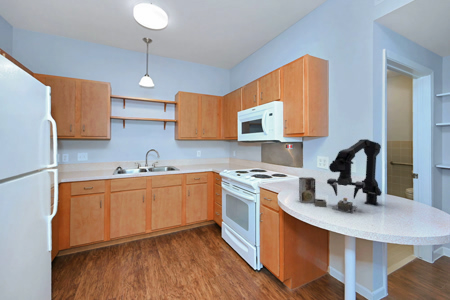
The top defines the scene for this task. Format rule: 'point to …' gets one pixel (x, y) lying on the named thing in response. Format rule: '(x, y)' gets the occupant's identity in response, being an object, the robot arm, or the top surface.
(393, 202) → the top surface
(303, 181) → the coffee box
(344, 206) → the link
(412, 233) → the top surface
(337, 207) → the keeper
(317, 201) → the link
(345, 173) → the robot arm
